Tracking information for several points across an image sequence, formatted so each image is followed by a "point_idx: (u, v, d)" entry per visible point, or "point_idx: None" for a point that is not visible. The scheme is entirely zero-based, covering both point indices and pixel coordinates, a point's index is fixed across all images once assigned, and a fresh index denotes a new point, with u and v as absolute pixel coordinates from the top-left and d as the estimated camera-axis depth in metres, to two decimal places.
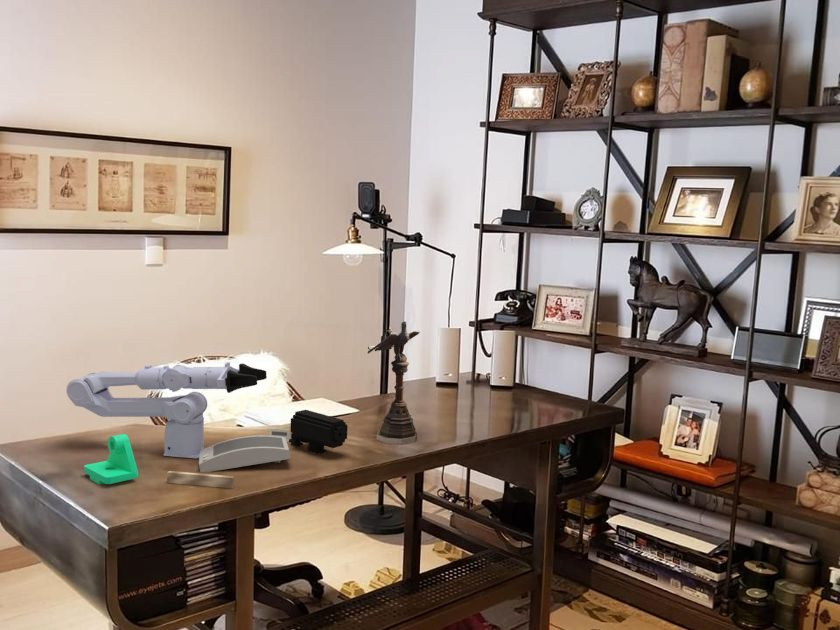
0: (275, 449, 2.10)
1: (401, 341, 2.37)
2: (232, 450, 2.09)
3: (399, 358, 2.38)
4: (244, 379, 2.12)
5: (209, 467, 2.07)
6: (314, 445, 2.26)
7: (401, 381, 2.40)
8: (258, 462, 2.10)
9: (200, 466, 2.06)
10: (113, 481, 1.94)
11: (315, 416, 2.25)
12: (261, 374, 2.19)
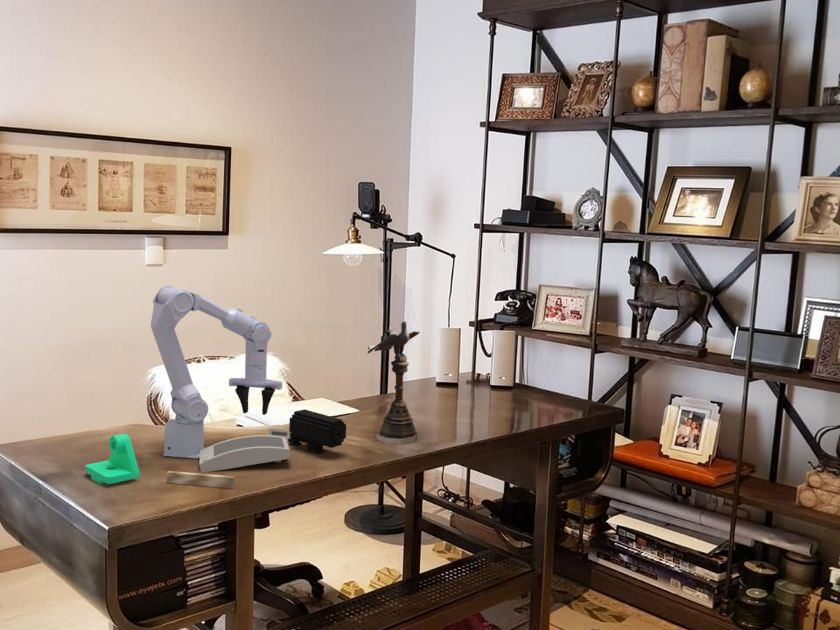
0: (275, 449, 2.10)
1: (401, 341, 2.37)
2: (233, 450, 2.09)
3: (399, 358, 2.38)
4: (267, 403, 2.31)
5: (209, 467, 2.07)
6: (313, 445, 2.26)
7: (401, 381, 2.40)
8: (259, 462, 2.10)
9: (201, 466, 2.07)
10: (114, 481, 1.94)
11: (314, 416, 2.25)
12: (246, 408, 2.32)
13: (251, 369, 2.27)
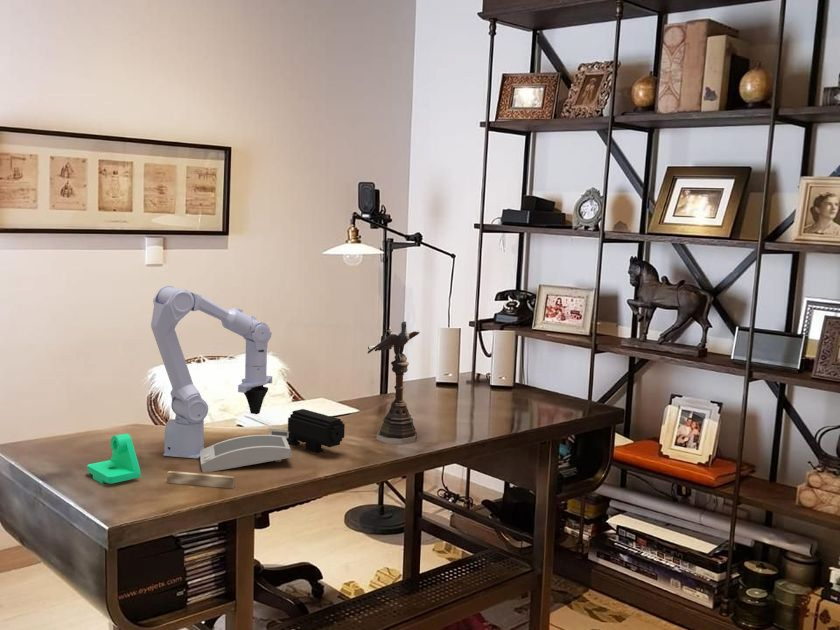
0: (276, 448, 2.11)
1: (401, 341, 2.37)
2: (234, 450, 2.09)
3: (399, 358, 2.38)
4: None
5: (211, 467, 2.07)
6: (311, 444, 2.27)
7: (401, 381, 2.40)
8: (260, 461, 2.10)
9: (202, 466, 2.07)
10: (115, 481, 1.94)
11: (313, 415, 2.25)
12: None
13: (264, 369, 2.29)
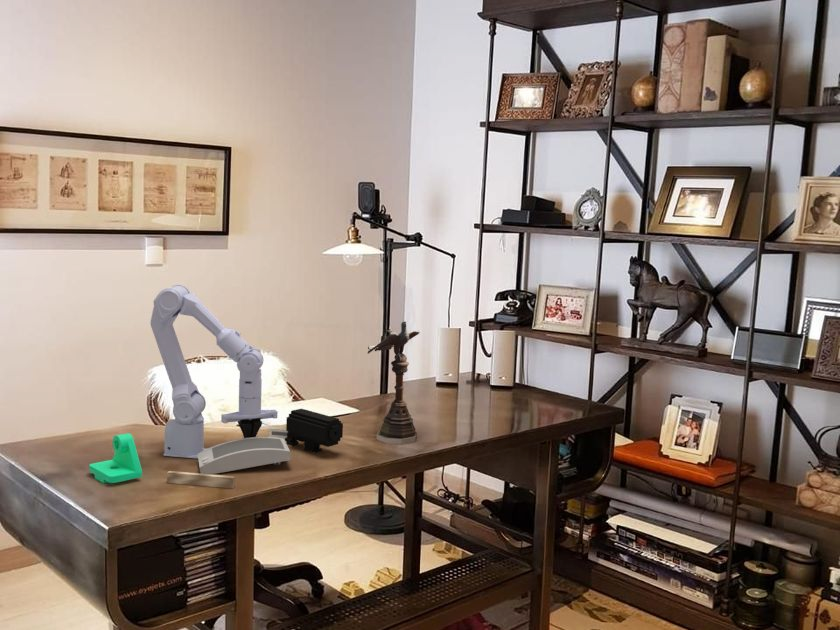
0: (276, 451, 2.09)
1: (401, 341, 2.37)
2: (233, 452, 2.07)
3: (399, 358, 2.38)
4: None
5: (209, 470, 2.05)
6: (310, 444, 2.27)
7: (401, 381, 2.40)
8: (259, 464, 2.08)
9: (201, 469, 2.04)
10: (117, 480, 1.94)
11: (311, 415, 2.26)
12: None
13: (252, 401, 2.16)
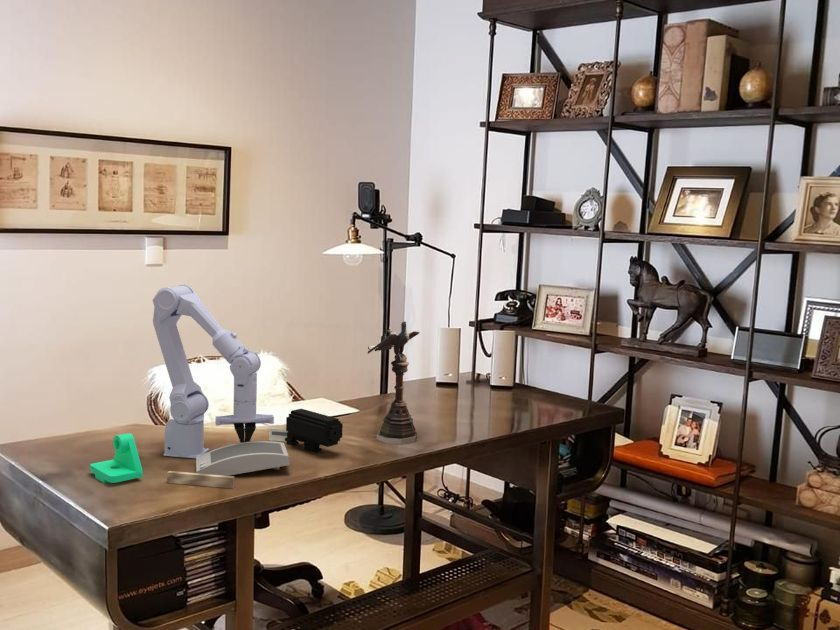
0: (274, 455, 2.05)
1: (401, 341, 2.37)
2: (231, 457, 2.04)
3: (399, 358, 2.38)
4: None
5: None
6: (309, 444, 2.27)
7: (401, 381, 2.40)
8: (257, 469, 2.05)
9: None
10: (117, 480, 1.94)
11: (311, 415, 2.26)
12: None
13: (244, 405, 2.12)
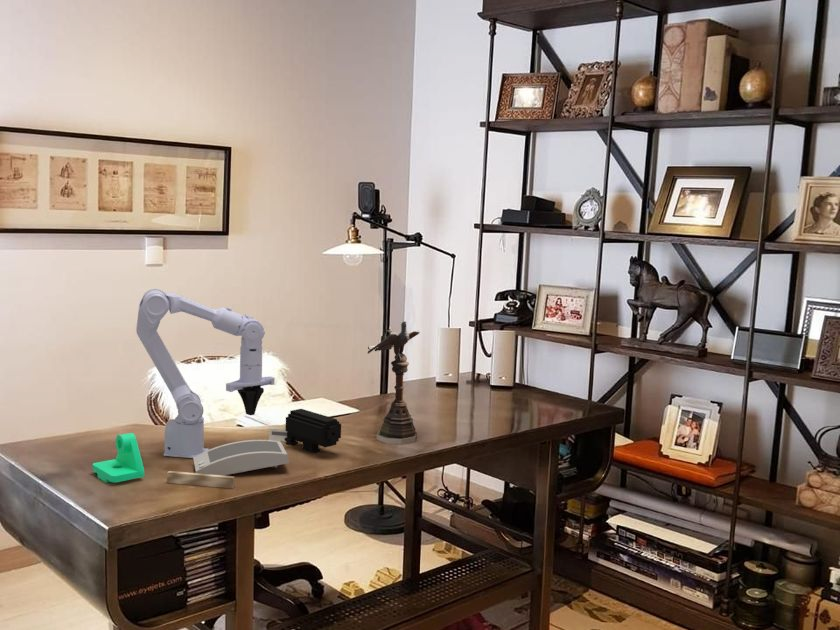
0: (273, 454, 2.06)
1: (401, 341, 2.37)
2: (230, 456, 2.04)
3: (399, 358, 2.38)
4: None
5: None
6: (308, 444, 2.27)
7: (401, 381, 2.40)
8: (256, 467, 2.06)
9: None
10: (119, 480, 1.95)
11: (309, 415, 2.25)
12: None
13: (256, 369, 2.21)
